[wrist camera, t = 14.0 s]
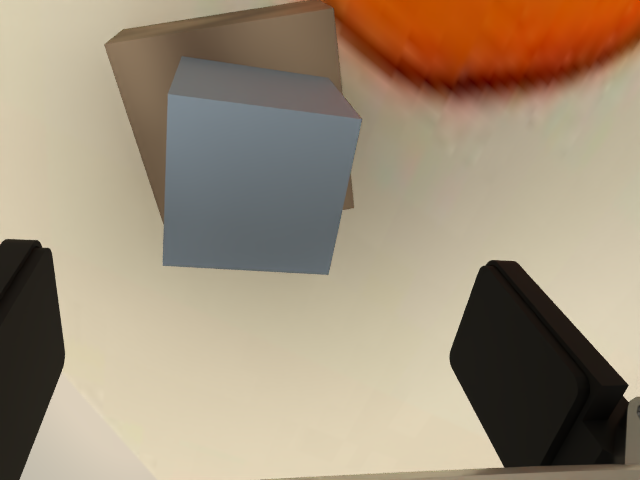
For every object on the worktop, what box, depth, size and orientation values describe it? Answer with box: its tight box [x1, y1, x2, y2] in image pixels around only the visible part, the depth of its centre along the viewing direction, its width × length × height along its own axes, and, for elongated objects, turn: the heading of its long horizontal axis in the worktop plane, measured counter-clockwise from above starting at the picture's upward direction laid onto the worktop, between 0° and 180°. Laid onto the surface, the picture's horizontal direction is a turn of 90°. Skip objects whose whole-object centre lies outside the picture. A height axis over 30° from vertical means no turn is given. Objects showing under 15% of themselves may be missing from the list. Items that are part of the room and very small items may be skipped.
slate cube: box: [163, 56, 362, 275], centre depth 19 cm, size 6×6×6 cm
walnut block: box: [104, 0, 354, 224], centre depth 24 cm, size 9×9×4 cm
